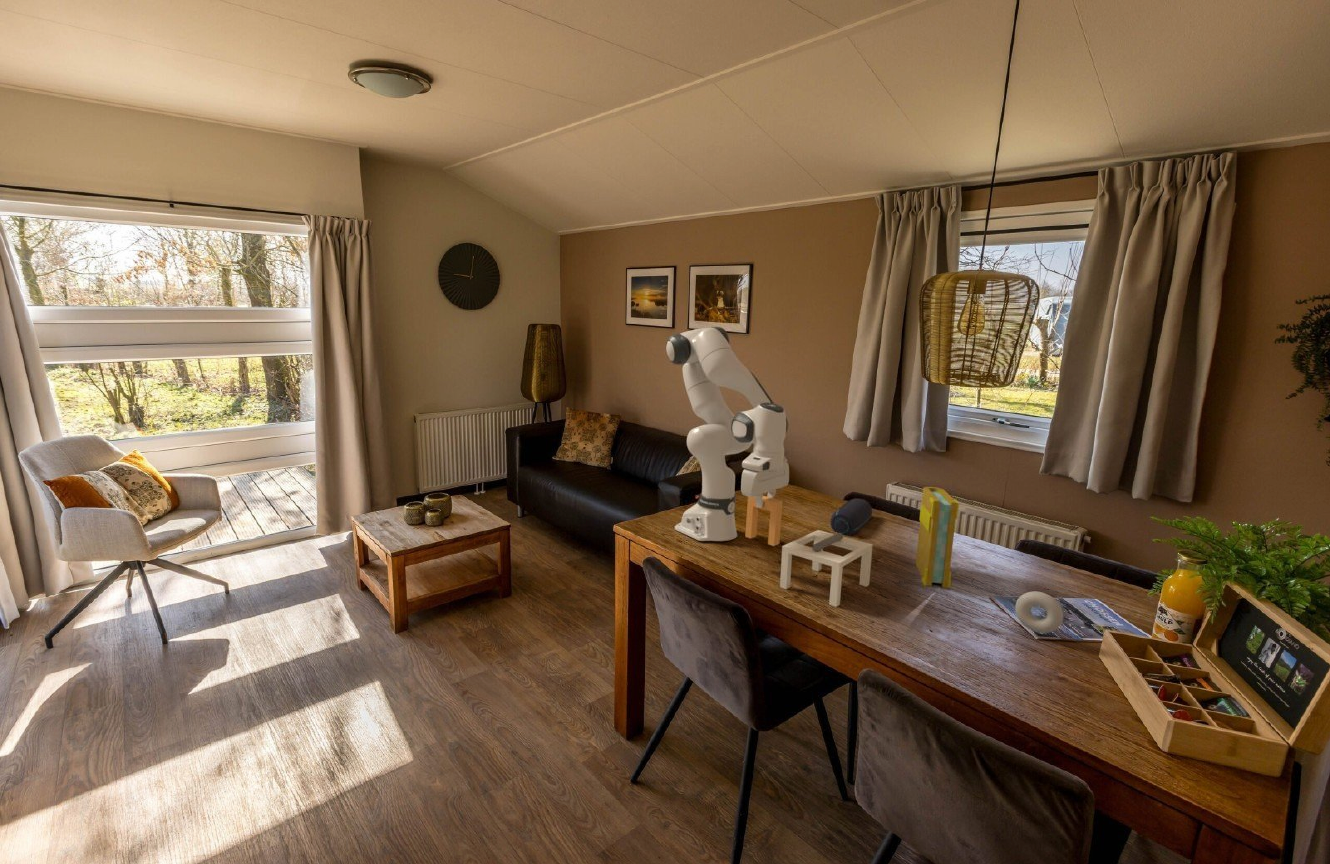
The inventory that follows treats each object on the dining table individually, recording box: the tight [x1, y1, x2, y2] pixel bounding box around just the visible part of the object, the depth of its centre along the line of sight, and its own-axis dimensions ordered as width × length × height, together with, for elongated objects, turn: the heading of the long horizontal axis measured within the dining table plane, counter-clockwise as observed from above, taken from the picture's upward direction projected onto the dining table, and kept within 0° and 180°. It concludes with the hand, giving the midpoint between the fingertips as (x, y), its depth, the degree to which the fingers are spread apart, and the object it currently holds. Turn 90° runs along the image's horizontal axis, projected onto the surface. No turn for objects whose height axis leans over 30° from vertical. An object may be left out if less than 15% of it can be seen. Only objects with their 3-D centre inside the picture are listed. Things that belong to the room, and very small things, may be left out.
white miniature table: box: [779, 529, 874, 608], centre depth 166 cm, size 17×20×14 cm
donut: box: [1014, 590, 1064, 634], centre depth 143 cm, size 10×4×10 cm, turn 48°
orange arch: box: [744, 495, 784, 547], centre depth 174 cm, size 10×3×13 cm, turn 47°
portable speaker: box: [830, 498, 873, 537], centre depth 216 cm, size 25×10×10 cm, turn 147°
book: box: [915, 486, 960, 589], centre depth 175 cm, size 17×7×25 cm, turn 168°
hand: (764, 505), depth 174 cm, fingers closed on orange arch, 3 cm apart
